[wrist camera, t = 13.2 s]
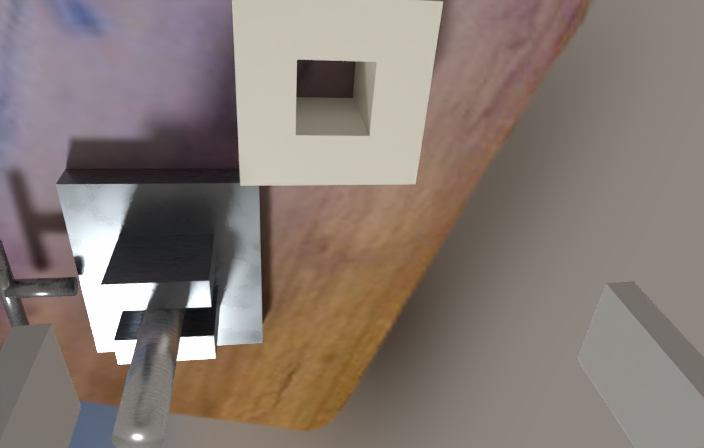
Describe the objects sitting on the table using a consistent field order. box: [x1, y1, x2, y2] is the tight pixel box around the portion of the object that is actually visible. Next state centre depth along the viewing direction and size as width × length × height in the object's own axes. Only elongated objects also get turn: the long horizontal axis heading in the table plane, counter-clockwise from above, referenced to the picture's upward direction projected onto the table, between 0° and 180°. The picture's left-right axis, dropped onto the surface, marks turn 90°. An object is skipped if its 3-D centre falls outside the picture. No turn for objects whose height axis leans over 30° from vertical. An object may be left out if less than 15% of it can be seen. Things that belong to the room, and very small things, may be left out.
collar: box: [232, 0, 443, 186], centre depth 30 cm, size 10×10×6 cm
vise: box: [0, 169, 263, 448], centre depth 32 cm, size 14×16×15 cm
